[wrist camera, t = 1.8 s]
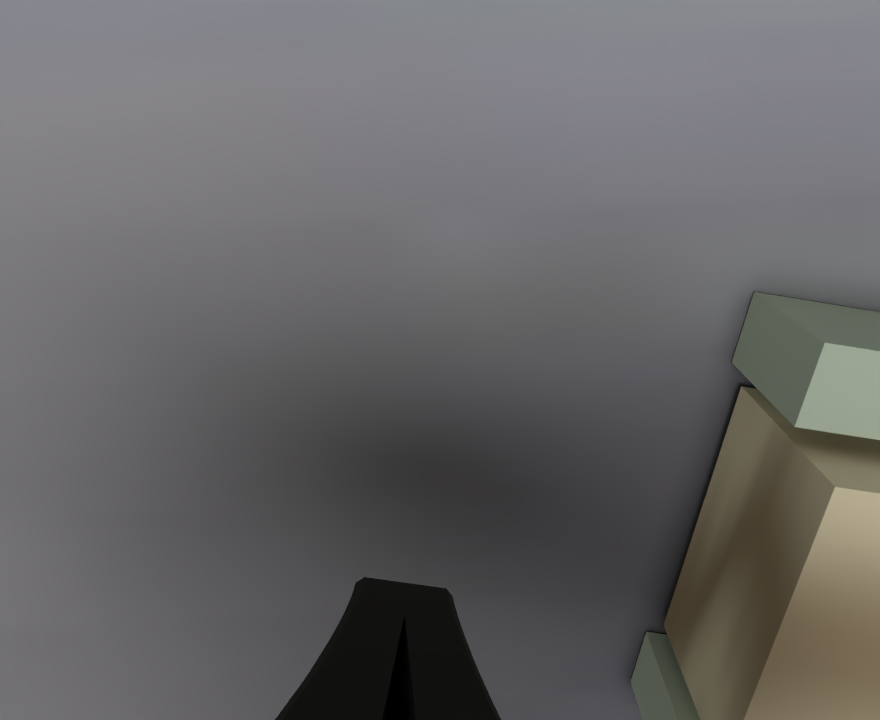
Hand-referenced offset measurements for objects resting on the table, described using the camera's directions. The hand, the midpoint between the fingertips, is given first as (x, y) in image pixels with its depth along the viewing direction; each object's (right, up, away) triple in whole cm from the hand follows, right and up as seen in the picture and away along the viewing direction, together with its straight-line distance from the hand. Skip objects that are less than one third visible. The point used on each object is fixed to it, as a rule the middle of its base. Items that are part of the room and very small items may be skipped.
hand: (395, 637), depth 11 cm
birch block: (+8, +1, +6) cm, 10 cm away
